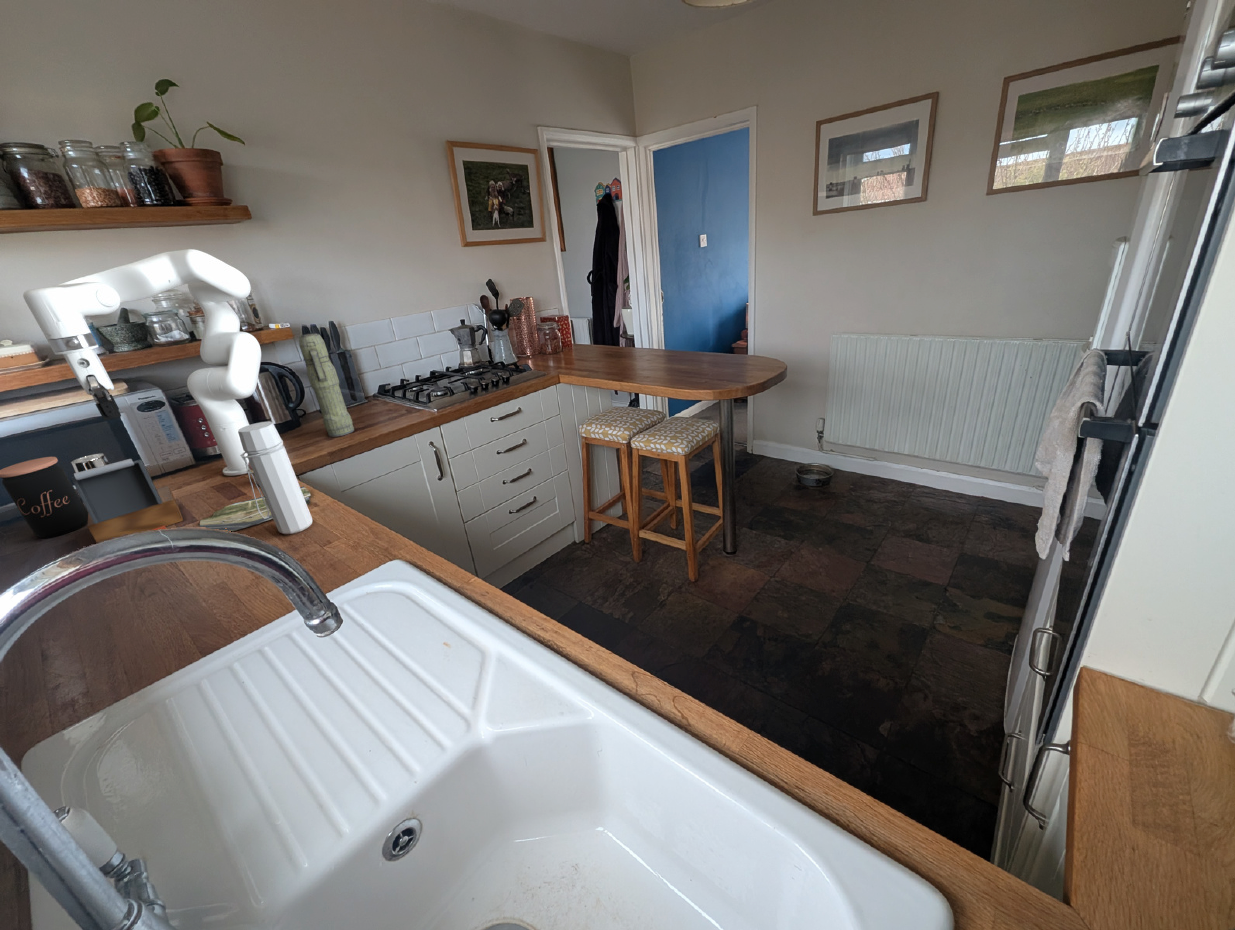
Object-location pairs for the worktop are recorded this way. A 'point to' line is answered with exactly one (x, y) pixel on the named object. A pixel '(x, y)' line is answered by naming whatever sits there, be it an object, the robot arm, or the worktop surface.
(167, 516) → the riser
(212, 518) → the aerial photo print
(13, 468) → the coffee jar
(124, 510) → the basket
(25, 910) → the worktop surface
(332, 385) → the thermos
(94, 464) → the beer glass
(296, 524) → the water bottle
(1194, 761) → the worktop surface
